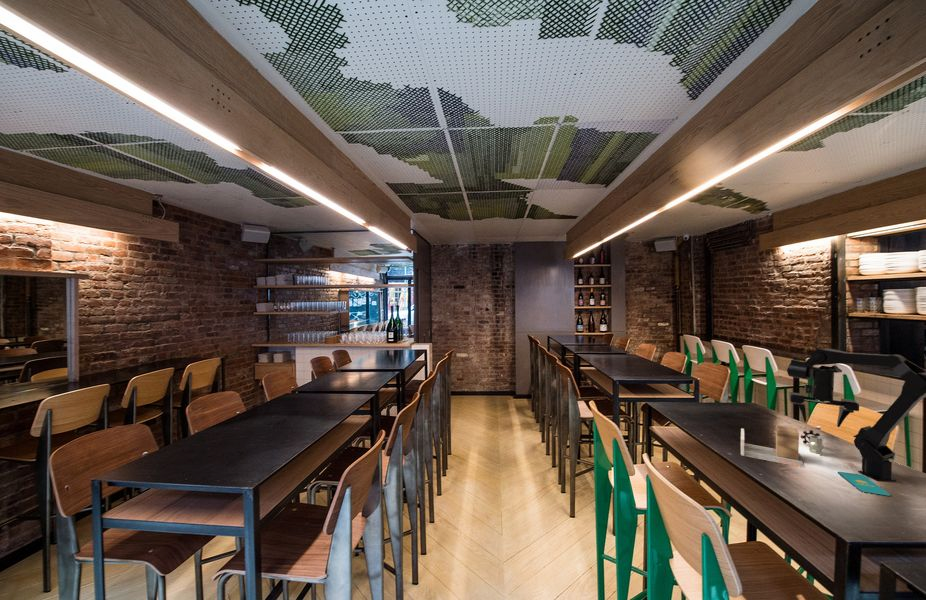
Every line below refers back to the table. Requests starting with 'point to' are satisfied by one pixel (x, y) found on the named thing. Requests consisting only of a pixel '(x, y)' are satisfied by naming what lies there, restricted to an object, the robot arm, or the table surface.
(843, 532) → the table surface
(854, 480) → the smartphone
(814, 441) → the valve
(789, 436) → the tan wooden block
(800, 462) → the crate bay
